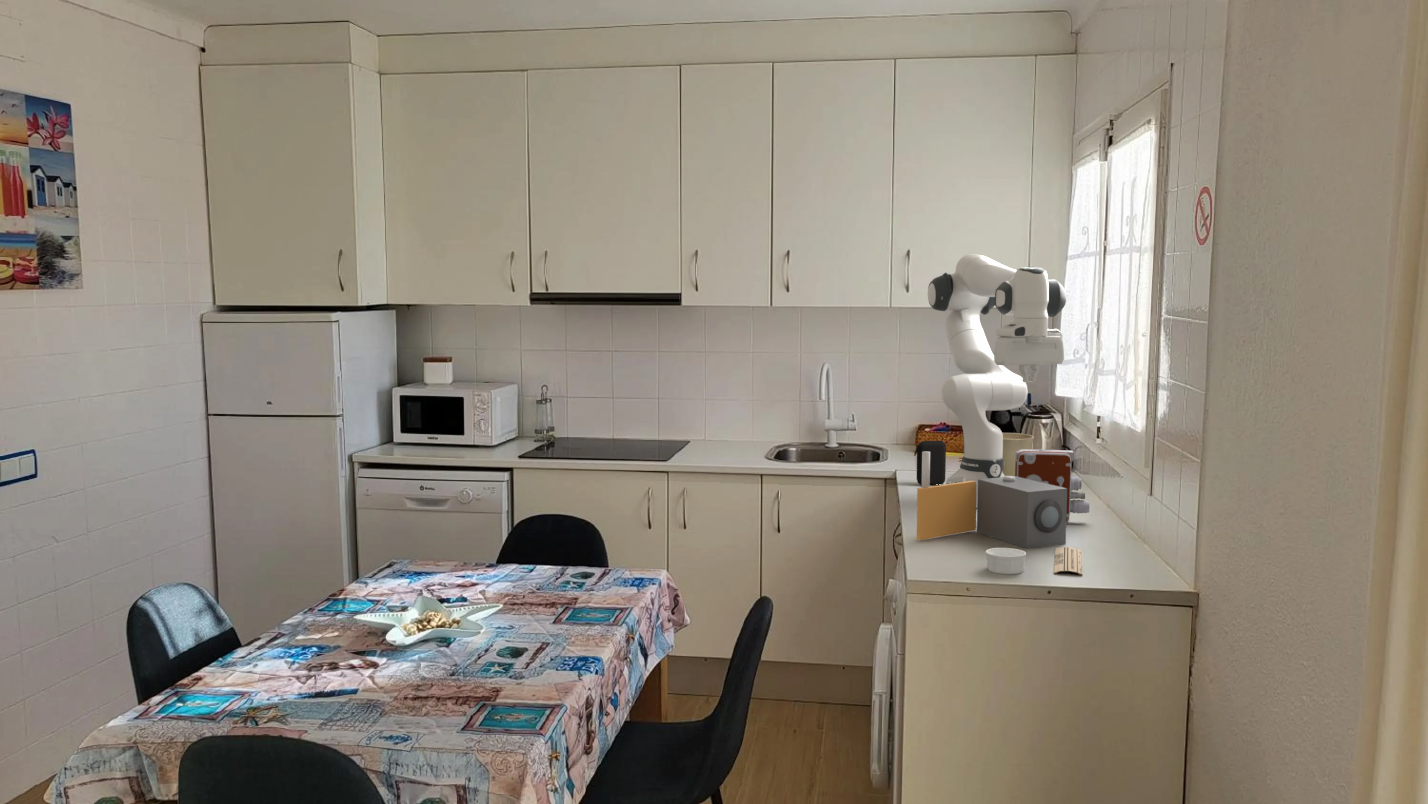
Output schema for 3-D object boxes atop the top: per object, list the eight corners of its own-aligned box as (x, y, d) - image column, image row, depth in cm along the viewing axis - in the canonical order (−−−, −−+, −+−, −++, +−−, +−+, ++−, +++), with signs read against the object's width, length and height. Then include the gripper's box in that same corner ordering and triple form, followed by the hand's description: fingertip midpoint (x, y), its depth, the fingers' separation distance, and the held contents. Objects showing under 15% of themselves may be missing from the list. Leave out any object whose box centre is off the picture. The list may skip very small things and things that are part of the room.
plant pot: (976, 483, 354) (977, 435, 352) (1002, 478, 364) (1003, 431, 362) (1015, 489, 343) (1016, 440, 341) (1041, 483, 352) (1042, 435, 351)
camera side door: (970, 528, 283) (971, 445, 281) (976, 529, 281) (978, 446, 279) (913, 538, 272) (914, 452, 269) (919, 539, 270) (921, 453, 268)
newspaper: (1082, 579, 237) (1082, 571, 236) (1048, 577, 239) (1048, 569, 239) (1081, 554, 259) (1081, 547, 259) (1050, 553, 261) (1050, 545, 261)
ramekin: (982, 573, 240) (983, 554, 239) (987, 564, 248) (987, 545, 247) (1024, 577, 236) (1024, 557, 236) (1027, 567, 245) (1027, 548, 244)
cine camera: (1090, 527, 286) (1093, 453, 285) (1015, 524, 290) (1017, 451, 288) (1086, 520, 295) (1088, 448, 293) (1013, 517, 299) (1014, 446, 297)
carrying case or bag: (915, 486, 348) (916, 441, 346) (912, 485, 351) (912, 440, 350) (946, 485, 350) (947, 441, 348) (943, 484, 353) (944, 439, 351)
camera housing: (976, 531, 281) (978, 475, 280) (1014, 527, 286) (1015, 472, 284) (1029, 549, 262) (1031, 488, 260) (1068, 544, 266) (1070, 485, 265)
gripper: (1054, 328, 286) (1052, 380, 288) (990, 329, 278) (989, 382, 280) (1070, 329, 280) (1068, 381, 282) (1006, 330, 273) (1005, 384, 274)
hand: (1028, 382), depth 281 cm, fingers closed
